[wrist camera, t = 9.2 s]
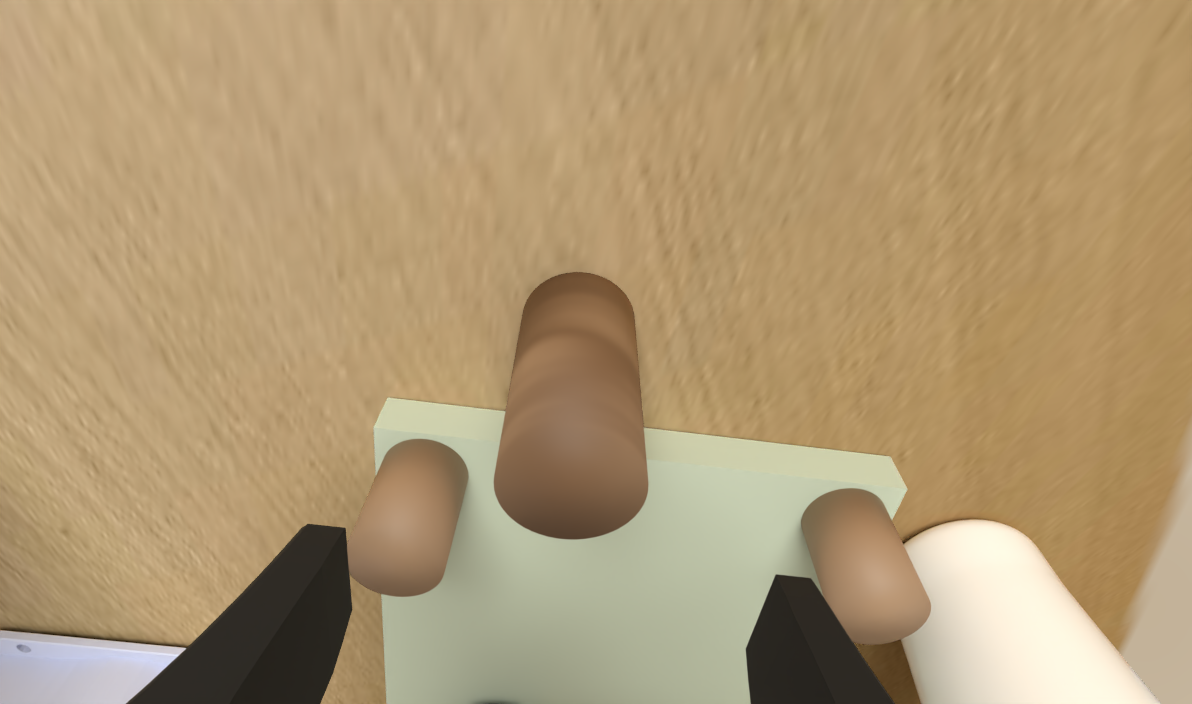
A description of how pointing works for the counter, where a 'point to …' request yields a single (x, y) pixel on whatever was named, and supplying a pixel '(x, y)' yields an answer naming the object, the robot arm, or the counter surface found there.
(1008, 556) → the white tumbler
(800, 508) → the board
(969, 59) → the counter surface
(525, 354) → the leg peg
